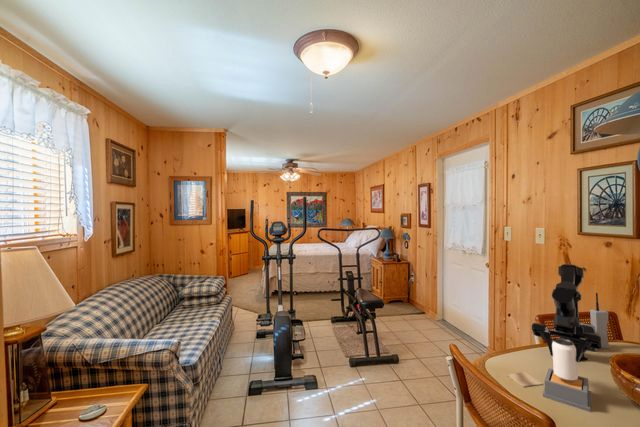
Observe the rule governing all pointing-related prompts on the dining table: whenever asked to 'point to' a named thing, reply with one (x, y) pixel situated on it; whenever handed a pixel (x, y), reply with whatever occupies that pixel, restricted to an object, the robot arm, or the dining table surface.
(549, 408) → the dining table surface
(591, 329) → the battery
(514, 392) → the dining table surface
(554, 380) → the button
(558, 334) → the robot arm
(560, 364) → the can
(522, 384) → the tan wavy cloth
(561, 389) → the grey open box
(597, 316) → the vintage mobile phone
